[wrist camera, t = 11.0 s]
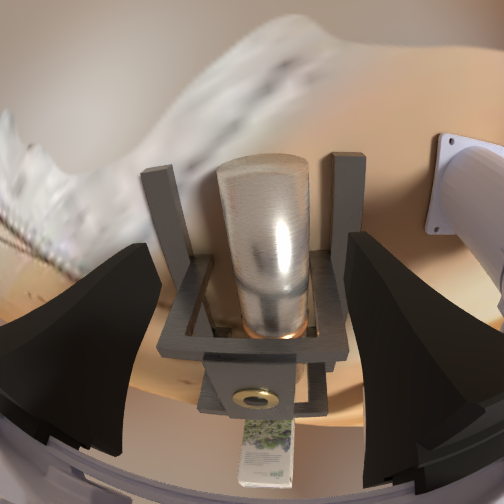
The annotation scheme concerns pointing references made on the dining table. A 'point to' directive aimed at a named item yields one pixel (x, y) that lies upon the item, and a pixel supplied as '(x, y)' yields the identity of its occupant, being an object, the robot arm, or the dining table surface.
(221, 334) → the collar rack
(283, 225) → the steel tube
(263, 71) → the dining table surface
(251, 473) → the syrup box
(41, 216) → the dining table surface
